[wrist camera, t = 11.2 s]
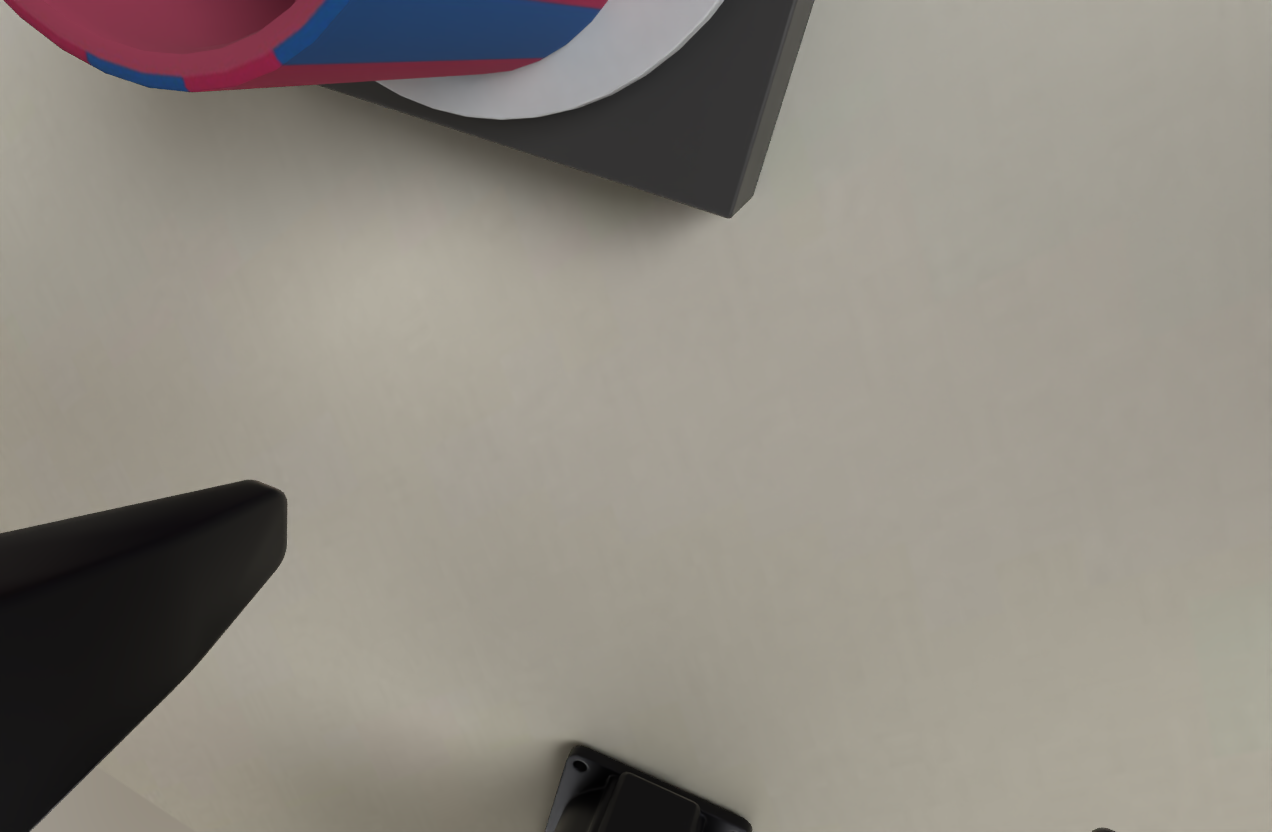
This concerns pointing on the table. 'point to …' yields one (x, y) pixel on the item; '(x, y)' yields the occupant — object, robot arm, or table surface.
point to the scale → (635, 97)
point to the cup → (304, 38)
